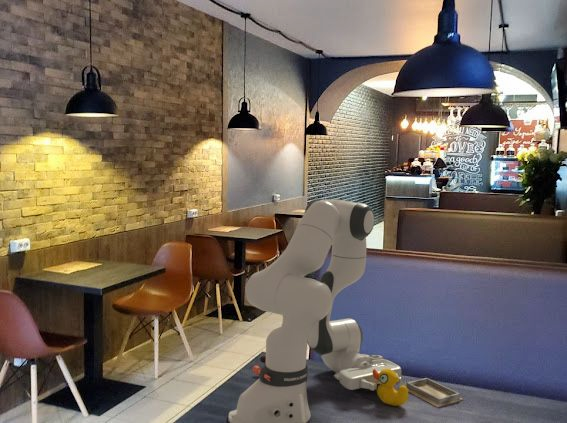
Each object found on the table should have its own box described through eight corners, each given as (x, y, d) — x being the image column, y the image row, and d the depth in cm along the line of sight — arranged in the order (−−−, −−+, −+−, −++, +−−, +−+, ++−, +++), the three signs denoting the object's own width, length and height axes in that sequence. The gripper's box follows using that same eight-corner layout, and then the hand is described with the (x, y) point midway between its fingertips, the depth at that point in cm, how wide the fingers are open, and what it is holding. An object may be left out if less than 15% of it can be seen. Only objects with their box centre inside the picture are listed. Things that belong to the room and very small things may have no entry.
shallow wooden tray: (437, 407, 161) (437, 400, 160) (403, 388, 173) (403, 382, 173) (463, 400, 166) (463, 393, 166) (427, 382, 178) (428, 376, 178)
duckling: (367, 400, 164) (368, 367, 163) (376, 395, 168) (377, 362, 167) (402, 412, 157) (404, 377, 156) (411, 406, 161) (412, 372, 160)
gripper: (331, 364, 169) (359, 380, 157) (383, 354, 179) (413, 368, 167) (330, 384, 170) (358, 402, 158) (382, 373, 180) (413, 388, 168)
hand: (387, 384), depth 163 cm, fingers open, 8 cm apart
